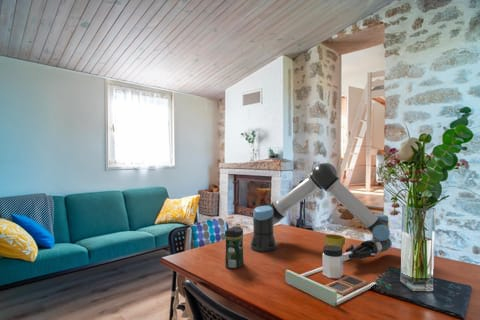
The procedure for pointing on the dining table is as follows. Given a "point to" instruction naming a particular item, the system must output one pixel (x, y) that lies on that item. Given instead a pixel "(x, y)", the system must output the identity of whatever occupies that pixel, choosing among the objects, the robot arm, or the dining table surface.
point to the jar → (332, 261)
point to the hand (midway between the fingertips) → (343, 257)
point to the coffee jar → (234, 247)
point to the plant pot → (335, 240)
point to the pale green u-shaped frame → (327, 286)
